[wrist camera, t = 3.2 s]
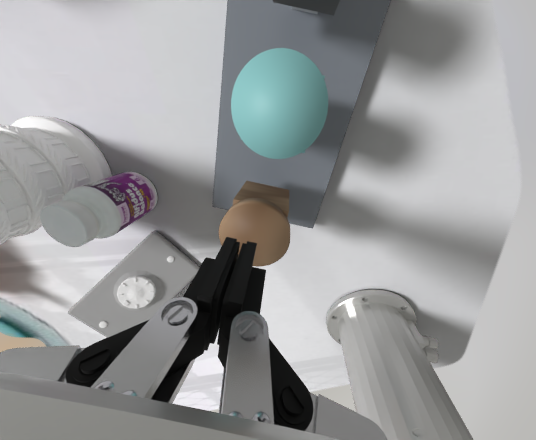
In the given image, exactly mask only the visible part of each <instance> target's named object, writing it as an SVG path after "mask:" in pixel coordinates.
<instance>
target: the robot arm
mask: <svg viewBox="0 0 536 440" xmlns="http://www.w3.org/2000/svg"><path fill="white" fill-rule="evenodd" d="M239 246H240V242H237V239H235V238H230V237H226V239H225V241H224V243H223V245H222V247H221V249H220V251H219V253H218V255H217V257H216V259H211V258H205V260H204V261H203V263H202V265H201V267H200V268H199V270H198V272H197V274H196V275H195V277H194V279H193V280H192V282H191V284H190V286H189V287H188V289H187V291H186V293H185V294H184V296H183V297H177V298H173V299H171V300H169V301H167V302H165V303H164V304H163V305H162V306H161V307H160V308H159V309H158V310H157V311H156V313H155V314H154V315H153V316H152V317H151V318H150V319H149V320H147V321H145V322H142V323H140V324H138V325H136V326H133V327H131V328H129V329H126V330H124V331H122V332H119V333H117V334H115V335H113V336H110V337H108V338H106V339H103V340H101V341H99V342H96V343H94V344H92V345H90V346H89V347H87V348H80V345H79V346H54V347H29V348H14V349H9V350H5V351H3V352H0V440H473V438H472V436H471V434H470V433H469V431H468V429H467V427H466V426H465V424H464V422H463V420H462V418H461V417H460V415H459V413H458V412H457V410H456V408H455V406H454V405H453V403H452V401H451V399H450V398H449V396H448V394H447V392H446V390H445V389H444V387H443V385H442V383H441V381H440V380H439V378H438V376H437V374H436V373H435V371H434V369H433V367H432V366H431V364H430V362H432V363H437V362H438V360H439V356H438V353H437V351H436V350H435V349H437V348H438V347H439V343H438V340H437V339H436V338H433V337H428V336H422V335H421V334H420V333H419V331H418V330H417V328H416V322H417V321H416V314H415V312H414V310H413V308H412V307H411V305H410V304H409V303H408V302H407V301H406V300H405V299H404V298H403V297H401V296H399V295H397V294H395V293H392V292H389V291H384V290H362V291H357V292H354V293H351V294H348V295H346V296H344V297H342V298H340V299H339V300H338V301H336V302H335V303H334V304H333V305H332V306H331V308H330V309H329V311H328V313H327V317H326V324H327V329H328V332H329V334H330V335H331V337H332V338H333V339H334V340H335V341H336V342H338V343H339V344H341V345H342V350H343V354H344V359H345V363H346V368H347V372H348V377H349V381H350V386H351V390H352V395H353V399H354V404H355V408H356V412H354V411H352V410H350V409H348V408H346V407H344V406H342V405H340V404H338V403H336V402H334V401H332V400H330V399H328V398H326V397H324V396H322V395H320V394H319V395H318V396H316V395H314V394H312V393H310V392H309V391H308V389H307V388H306V386H305V385H304V383H303V382H302V381H301V380H300V378H299V377H298V376H297V374H296V373H295V372H294V370H293V369H292V368H291V366H290V365H289V364H288V362H287V361H286V360H285V359H284V357H283V356H282V355H281V353H280V352H279V351H278V349H277V348H276V347H275V345H274V344H273V343H272V342H271V340H270V339H269V335H268V326H267V322H266V321H265V319H264V318H263V317H262V316H261V315H260V308H261V301H262V294H263V287H264V280H265V273H266V270H264V269H259V268H254V267H252V266H253V261H254V256H255V251H256V246H257V243H254V242H249V241H247V244H246V243H243V244H242V247H241V250H240V252H239ZM238 253H239V255H238ZM218 330H219V335H218V343H217V344H218V345H219V353H218V358H219V359H220V361H221V363H222V365H223V367H224V372H223V380H222V389H221V398H220V406H219V413H216V412H211V411H206V410H201V409H196V408H191V407H186V406H181V405H176V404H172V403H173V401H174V399H175V397H176V395H177V394H178V392H179V390H180V388H181V386H182V384H183V382H184V380H185V378H186V377H187V375H188V373H189V371H190V369H191V367H192V365H193V363H194V360H195V358H197V357H198V356H200V355H202V354H203V353H204V350H208V347H209V344H210V343H213V344H214V342H215V339H216V336H217V333H218Z"/></svg>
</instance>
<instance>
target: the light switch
mask: <svg viewBox="0 0 536 440" xmlns="http://www.w3.org/2000/svg"><path fill="white" fill-rule="evenodd" d="M199 268H200V267H199V266H198V265H197V264H196V263H194V262H193V261H192V260H191V259H190V258H188V257H187V256H186V255H185V254H184V253H182V252H181V251H180V250H179V249H178V248H176V247H175V246H174V245H173V244H172V243H171V242H169V241H168V240H167V239H166V238H165V237H163V236H162V235H161V234H160V233H159V232H157V231H153V232H152V233H151V234H149V235H148V236H147V237H146V238H145V239H144V240H143V241H142V242H141V243H140V244H139V245H138V246H137V247H136V248H135V249H134V250H132V251H131V252H130V253H129V254H128V255H127V256H126V257H125V258H124V259H123V260H122V261H121V262H120V263H119V264H118V265H116V266H115V267H114V268H113V269H112V270H111V271H110V272H109V273H108V274H107V275H106V276H105V277H104V278H103V279H102V280H101V281H99V282H98V283H97V284H96V285H95V286H94V287H93V288H92V289H91V290H90V291H89V292H88V293H87V294H86V295H85V296H83V297H82V298H81V299H80V300H79V301H78V302H77V303H76V304H75V305H74V306H73V307H72V308H71V309H70V310H69V311H68V314H70V315H71V316H73V317H75V318H76V319H78V320H79V321H81V322H83V323H84V324H86V325H88V326H89V327H91V328H92V329H94V330H96V331H97V332H99V333H101V334H102V335H104V336H106V337H107V338H108V337H110V336H113V335H115V334H117V333H119V332H122V331H124V330H126V329H129V328H131V327H133V326H136V325H138V324H140V323H142V322H145V321H147V320H149V319H150V318H151V317H152V316H153V315H154V314H155V313H156V311H157V310H158V309H159V308H160V307H161V306H162V305H163V304H164V303H165V302H167V301H169V300H171V299H173V298H174V297H175V296H176V295H177V294H178V293H179V292H180V291H181V290H182V289H183V288H184V287H185V286H186V285H187V284H188V283H189V282H190V281H191V280H192V279H193V278H194V277H195V275H196V274H197V272H198V270H199Z"/></svg>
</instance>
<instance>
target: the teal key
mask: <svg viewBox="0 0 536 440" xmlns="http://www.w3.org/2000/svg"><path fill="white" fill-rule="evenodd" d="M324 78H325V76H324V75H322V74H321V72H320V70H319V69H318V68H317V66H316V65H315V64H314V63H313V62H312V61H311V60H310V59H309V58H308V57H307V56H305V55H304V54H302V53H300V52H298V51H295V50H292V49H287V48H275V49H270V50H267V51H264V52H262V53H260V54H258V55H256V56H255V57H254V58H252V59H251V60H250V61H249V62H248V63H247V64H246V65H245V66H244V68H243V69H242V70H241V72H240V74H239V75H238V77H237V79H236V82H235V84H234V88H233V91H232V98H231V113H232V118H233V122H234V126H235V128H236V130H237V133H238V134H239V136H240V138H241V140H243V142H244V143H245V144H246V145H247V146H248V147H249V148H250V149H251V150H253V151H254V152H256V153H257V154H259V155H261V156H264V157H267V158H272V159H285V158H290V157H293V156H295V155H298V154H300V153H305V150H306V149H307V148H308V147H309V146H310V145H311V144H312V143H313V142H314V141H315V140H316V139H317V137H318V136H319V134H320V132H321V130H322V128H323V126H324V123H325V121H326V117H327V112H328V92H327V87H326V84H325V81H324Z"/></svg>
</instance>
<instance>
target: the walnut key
mask: <svg viewBox="0 0 536 440" xmlns="http://www.w3.org/2000/svg"><path fill="white" fill-rule="evenodd" d="M288 213H289V190H288V189H283V188H278V187H274V186H269V185H265V184H260V183H256V182H251V181H246V182H245V183H244V185H243V186H242V188H241V189H240V191H239V192H238V193H237V195H236V196H235V198H234V199H233V206H232V207H231V208H230V209H229V210H228V212H227V213H226V215H225V216H224V218H223V219H222V221H221V223H220V226H219V239H220V242H221V245H223V243H224V241H225V239H226V237H230V238H235V239H237V242H240V246H239V252H240V250H241V247H242V244H243V243H246V244H247V241H249V242H254V243H257V246H256V251H255V256H254V261H253V266H266V265H270V264H272V263H274V262H276V261H278V260H279V259H280V258H282V257H283V256H284V254H285V253H286V251H287V249H288V247H289V243H290V224H289V221H288V218H287V217H288ZM238 255H239V253H238Z"/></svg>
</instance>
